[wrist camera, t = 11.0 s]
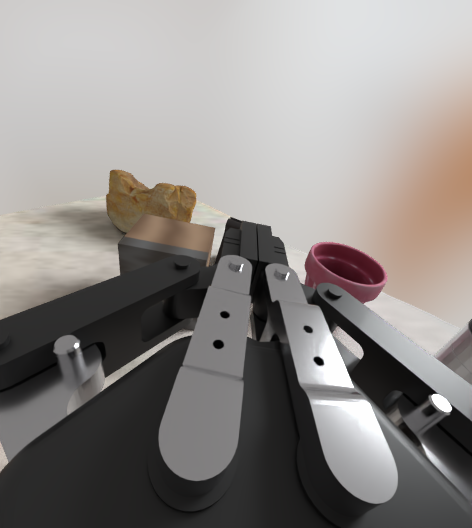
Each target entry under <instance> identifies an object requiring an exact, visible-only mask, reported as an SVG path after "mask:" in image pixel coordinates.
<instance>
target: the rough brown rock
mask: <svg viewBox="0 0 472 528" xmlns="http://www.w3.org/2000/svg"><path fill="white" fill-rule="evenodd" d="M106 202H107V213H108V216H109V217H110V219H111V221H112V223H113V224H114V225H115V226H116V227H117V228H118V229H119V230H121V231H122V232H125V233H128V231H129V230H130V229H131V228H132V227H133V226H134V224H135V223H136V222H137V221H138V220H139V219H140V218H141V216H142V215H143V214H148V215H153V216H158V217H163V218H168V219H173V220H178V221H183V222H188V223H190V221H191V217H192V212H193V209H194V207H195V204H196V193H195V192H194V191H193V190H192V189H190V188H188V187H186V186H174V185H172V184H166V183H159V184H157V185H156V186H155V187H154V188H153V189H149V188H147V187H146V186H144V184H142V183H140V182H138V181H137V180H136V179H135V178H134V177H133V175H131V173H128V172H125V171H122V170H112V171H110V179H109V194H107V195H106Z"/></svg>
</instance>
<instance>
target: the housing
mask: <svg viewBox="0 0 472 528" xmlns="http://www.w3.org/2000/svg"><path fill="white" fill-rule="evenodd" d="M214 232H215V228H213V227H208V226H203V225H198V224H193V223H188V222H183V221H178V220H173V219H168V218H163V217H158V216H153V215H148V214H143V215H142V216H141V218H140V219H139V220H138V221H137V222H136V223H135V224H134V226H133V227H132V228H131V229H130V230H129V231H128V233H127V234H126V235H125V236H124V237H123V238H122V239H121V241H120V242H119V243H118V251H119V264H120V275H122V274H125V273H128V272H130V271H133V270H136V269H138V268H141V267H144V266H146V265H149V264H152V263H154V262H157V261H160V260H163V259H165V258H168V257H171V256H174V255H186V256H190V257H193V258H194V259H196V260H197V261H198V262H199V263H200V267H206V266H209V262H210V256H211V250H212V244H213V238H214ZM161 302H162V301H161ZM159 303H160V302H159ZM157 304H158V303H157ZM155 305H156V304H155ZM153 306H154V305H153ZM151 307H152V306H151ZM149 308H150V307H149ZM197 320H198V318H193V320H192V321H191V323H190V324H188V325H187V326H185V327H184V329H190V330H194V329H195V326H196V323H197Z"/></svg>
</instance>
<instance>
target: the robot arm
mask: <svg viewBox="0 0 472 528" xmlns="http://www.w3.org/2000/svg"><path fill="white" fill-rule="evenodd" d="M161 301H162V302H161ZM159 302H160V303H159ZM157 303H158V304H157ZM251 303H253V308H252V311H251V315H250V319H251V330H252V339H251V338H249V337H247V332H248V322H249V313H250V304H251ZM155 304H156V305H155ZM153 305H154V306H153ZM151 306H152V307H151ZM149 307H150V308H149ZM193 318H198V320H197V323H196V326H195V329H194V332H193V335H192V336H187V337H183V338H180V339H178V340H175V341H173V342H172V343H170V344H168V345H166V346H165V347H163V348H162V349H161V350H159V351H158V352H156V353H155V354H154V355H152V356H151V357H149V358H148V359H147V360H145V361H144V362H142V363H141V364H139V365H138V366H137V367H135V368H134V369H132V370H131V371H130V372H128V373H127V374H125V375H124V376H123V377H121V378H120V379H118V380H117V381H115V382H114V383H113V384H111V385H110V386H108V387H107V388H106V389H104V390H103V391H101V390H102V388H103V386H104V382H105V378H106V377H107V376H109V375H110V374H112V373H113V372H115V371H117V370H118V369H120V368H121V367H123V366H124V365H126V364H128V363H129V362H131V361H132V360H134V359H135V358H137V357H138V356H140V355H142V354H143V353H145V352H146V351H148V350H149V349H151V348H153V347H154V346H156V345H157V344H159V343H160V342H162V341H164V340H165V339H167V338H168V337H170V336H171V335H173V334H174V333H176V332H178V331H179V330H181V329H182V328H184V327H185V326H187V325H188V324H190V323H191V321H192V320H193ZM337 325H338V326H339V327H340V328H341V329H342V330H344V331H345V332H346V333H347V334H348V335H349V336H351V337H352V338H353V339H354V340H355V341H356V342H357V343H359V344H360V346H361V347H362V349H363V352H364V355H363V357H362V359H361V360H360V359H359V358H357V357H356V356H355V355H354V354H353V353H352V352H351V351H349V350H348V349H347V348H346V347H345V346H344V345H343V344H342V343H341V342H340V341H338V340H337V339H336V338H335V337H334V336H333V335H332V333H333V331H334V329H335V328H336V326H337ZM0 441H1V444H2V446H3V449H4V452H5V454H6V457H7V459H8V462H9V463H8V464H7V465H6V466H5V467H4V469H3V470H2V471H1V472H0V528H472V319H471V320H470V321H469V322H468V323H467V324H466V325H465V326H464V327H463V328H462V329H461V330H460V331H459V332H458V333H457V334H456V335H455V336H454V337H453V338H452V339H451V340H450V341H449V342H448V343H446V344H445V345H444V346H443V347H442V348H441V349H440V350H439V351H438V352H437V353H436V354H435V355H434V356H432V355H431V354H429V353H428V352H426V351H425V350H424V349H422V348H421V347H420V346H418V345H417V344H416V343H414V342H413V341H412V340H410V339H409V338H408V337H406V336H405V335H404V334H402V333H401V332H400V331H398V330H397V329H396V328H394V327H393V326H392V325H390V324H389V323H388V322H386V321H385V320H384V319H382V318H381V317H380V316H378V315H377V314H376V313H374V312H373V311H372V310H370V309H369V308H368V307H366V306H365V305H364V304H362V303H361V302H360V301H358V300H357V299H356V298H354V297H353V296H352V295H350V294H349V293H348V292H346V291H345V290H344V289H342V288H341V287H339V286H337V285H334V284H331V283H320V284H319V285H318V286H317V288H316V289H313V288H311V287H308V286H306V285H304V284H302V283H300V281H299V278H298V276H297V274H296V272H295V271H294V270H293V269H291V268H290V267H289V265H288V261H287V256H286V252H285V247H284V243H283V242H282V241H281V240H280V238H279V237H274V236H272V232H271V226H266V225H261V224H256V223H251V222H246V221H242V223H241V227H240V230H239V229H234V228H230V229H228V230H227V231H226V233H225V238H224V243H223V248H222V253H221V259H220V260H219V262H218V263H217V264H215V265H212V266H206V267H200V263H199V262H198V261H197V260H196V259H194V258H193V257H190V256H186V255H174V256H171V257H168V258H165V259H163V260H160V261H157V262H154V263H152V264H149V265H146V266H144V267H141V268H138V269H136V270H133V271H130V272H128V273H125V274H122V275H120V276H117V277H114V278H112V279H109V280H106V281H104V282H101V283H98V284H95V285H93V286H90V287H87V288H85V289H82V290H79V291H77V292H74V293H71V294H69V295H66V296H63V297H61V298H58V299H55V300H53V301H50V302H47V303H45V304H42V305H39V306H36V307H34V308H31V309H28V310H26V311H23V312H20V313H18V314H15V315H12V316H10V317H7V318H4V319H2V320H0Z"/></svg>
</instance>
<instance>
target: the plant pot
mask: <svg viewBox="0 0 472 528" xmlns="http://www.w3.org/2000/svg"><path fill="white" fill-rule="evenodd" d="M305 270H306V272H307V274H306V279H305V285H306V286H308V287H311V288H313V289H316V288H317V286H318V285H319V284H320V283H331V284H334V285H337V286H339V287H341V288H342V289H344V290H345V291H346V292H348V293H349V294H350V295H352V296H353V297H354V298H356V299H357V300H358V301H360V302H361V303H362V304H364V303H365V302H368V301H372V300H374V299H375V298H376V297H377V296H378V295H379V293H380V292H381V290H382V289H383V287H384V285H385V284H386V282H387V274H386V272H385V270H384V268H383V267H382V266H381V265H380V264H379V263H378V262H377V261H376V260H374V259H373V258H372V257H370V256H369V255H367V254H365V253H364V252H362V251H359V250H357V249H355V248H353V247H350V246H347V245H344V244H339V243H333V242H321V243H317V244H315V245H314V246H312V248H311V250H310V252H309V254H308V256H307V259H306V261H305Z"/></svg>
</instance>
